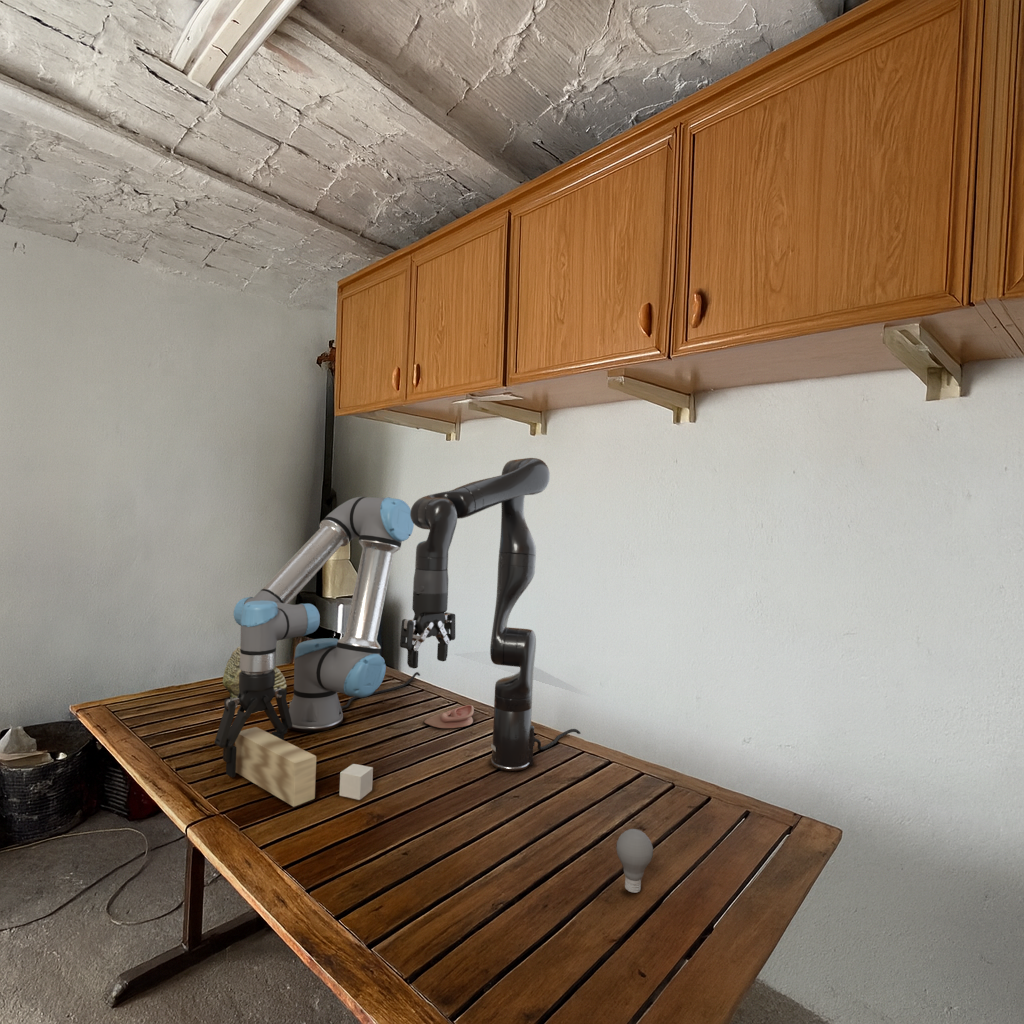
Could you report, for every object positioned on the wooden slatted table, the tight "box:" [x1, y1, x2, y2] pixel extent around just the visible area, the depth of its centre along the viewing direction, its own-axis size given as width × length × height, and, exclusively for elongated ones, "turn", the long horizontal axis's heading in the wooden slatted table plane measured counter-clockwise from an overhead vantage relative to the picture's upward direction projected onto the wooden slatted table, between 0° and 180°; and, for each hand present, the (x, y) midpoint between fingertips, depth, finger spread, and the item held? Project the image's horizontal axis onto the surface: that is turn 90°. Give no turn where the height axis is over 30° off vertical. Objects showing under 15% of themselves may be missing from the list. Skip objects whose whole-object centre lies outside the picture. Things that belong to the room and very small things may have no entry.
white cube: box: [338, 763, 374, 801], centre depth 136 cm, size 5×5×5 cm
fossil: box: [222, 646, 288, 699], centre depth 198 cm, size 9×18×15 cm, turn 132°
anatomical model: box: [424, 704, 475, 729], centre depth 181 cm, size 13×4×12 cm
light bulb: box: [615, 828, 654, 894], centre depth 106 cm, size 6×6×10 cm
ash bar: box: [234, 726, 317, 808], centre depth 138 cm, size 24×5×9 cm, turn 51°
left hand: (253, 767), depth 143 cm, fingers open, 10 cm apart
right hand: (427, 664), depth 137 cm, fingers open, 8 cm apart
